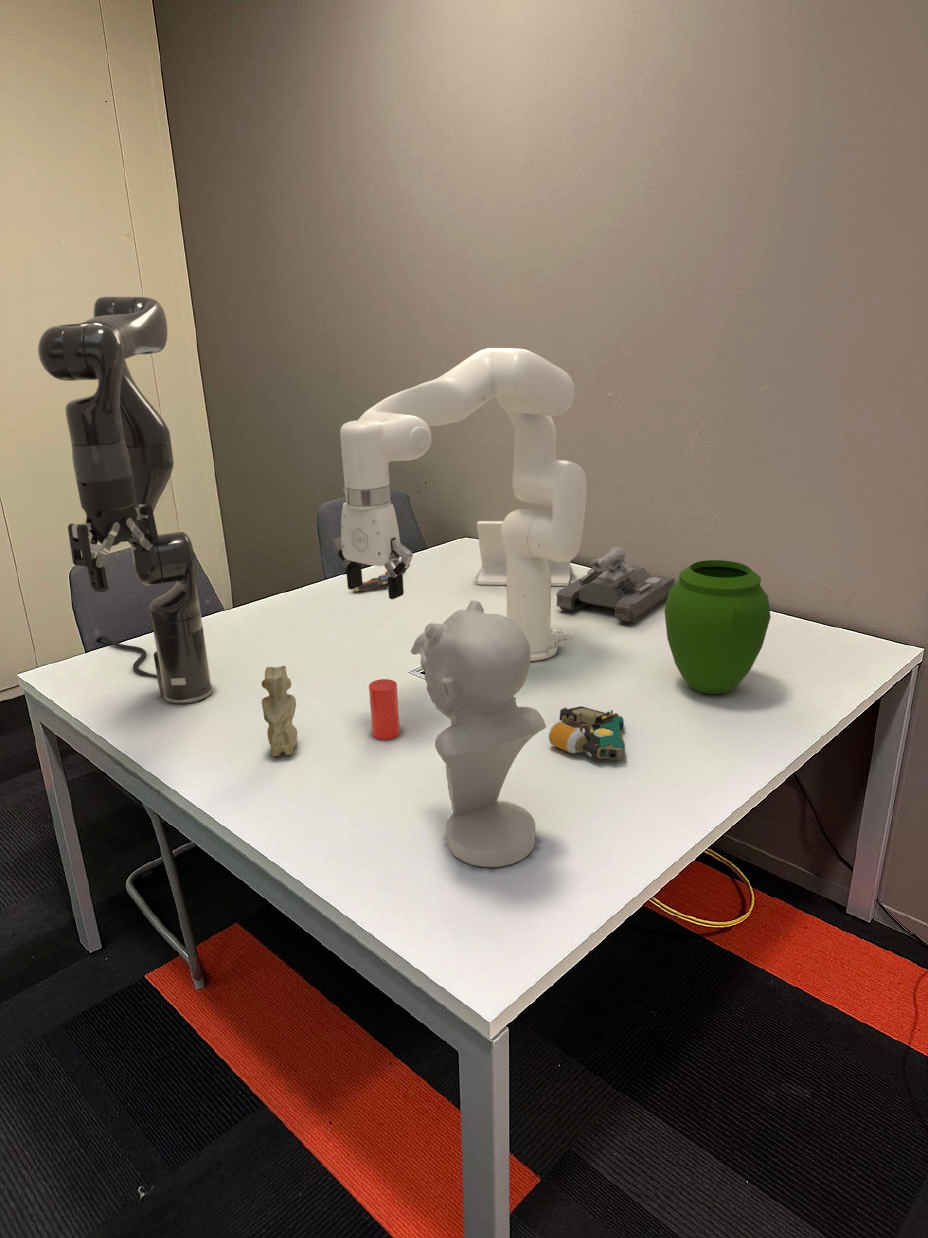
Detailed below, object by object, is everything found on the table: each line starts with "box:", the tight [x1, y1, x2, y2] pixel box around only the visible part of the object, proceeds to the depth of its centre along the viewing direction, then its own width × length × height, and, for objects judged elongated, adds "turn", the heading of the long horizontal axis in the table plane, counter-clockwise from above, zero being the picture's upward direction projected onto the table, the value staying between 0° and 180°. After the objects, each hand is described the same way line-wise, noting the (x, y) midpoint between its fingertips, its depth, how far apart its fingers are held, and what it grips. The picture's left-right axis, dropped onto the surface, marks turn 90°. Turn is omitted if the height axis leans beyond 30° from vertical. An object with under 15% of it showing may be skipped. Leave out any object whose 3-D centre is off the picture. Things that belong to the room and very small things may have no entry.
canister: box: [368, 678, 401, 741], centre depth 153 cm, size 5×5×10 cm
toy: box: [556, 546, 676, 624], centre depth 212 cm, size 25×20×15 cm
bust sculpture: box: [410, 599, 547, 868], centre depth 121 cm, size 16×24×35 cm
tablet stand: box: [476, 520, 572, 587], centre depth 236 cm, size 18×25×17 cm
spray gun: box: [548, 705, 626, 761], centre depth 149 cm, size 4×17×15 cm
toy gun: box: [352, 570, 390, 592], centre depth 236 cm, size 3×19×10 cm
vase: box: [664, 559, 772, 695], centre depth 164 cm, size 20×20×24 cm
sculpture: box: [261, 665, 298, 757], centre depth 147 cm, size 6×7×15 cm
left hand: (123, 582), depth 127 cm, fingers open, 8 cm apart
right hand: (375, 592), depth 149 cm, fingers open, 9 cm apart
